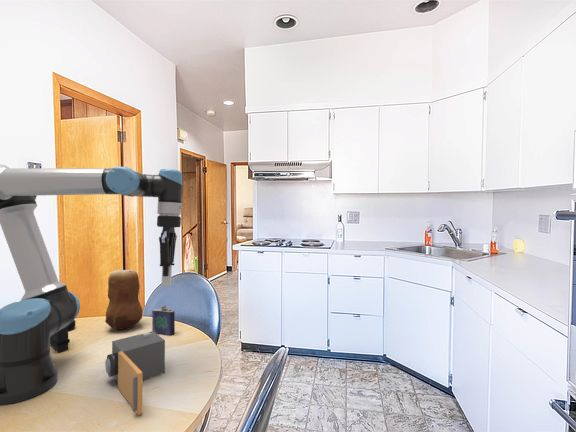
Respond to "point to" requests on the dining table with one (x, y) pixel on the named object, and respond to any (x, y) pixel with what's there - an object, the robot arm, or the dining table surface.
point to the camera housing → (139, 354)
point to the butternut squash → (123, 300)
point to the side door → (130, 382)
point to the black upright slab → (60, 340)
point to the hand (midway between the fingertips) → (166, 285)
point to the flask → (163, 321)
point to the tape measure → (71, 325)
